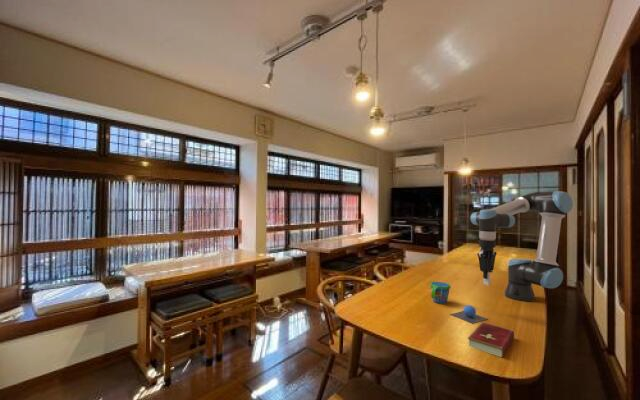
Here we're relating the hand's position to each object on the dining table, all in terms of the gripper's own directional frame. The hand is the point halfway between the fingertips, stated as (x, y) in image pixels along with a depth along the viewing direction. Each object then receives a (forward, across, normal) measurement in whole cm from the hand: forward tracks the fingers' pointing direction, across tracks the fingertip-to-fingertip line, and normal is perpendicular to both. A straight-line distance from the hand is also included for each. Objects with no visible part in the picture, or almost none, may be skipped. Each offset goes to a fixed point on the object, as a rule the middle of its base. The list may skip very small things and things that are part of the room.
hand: (486, 284), depth 148 cm
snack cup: (+15, +9, -21) cm, 27 cm away
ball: (+12, +13, 0) cm, 18 cm away
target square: (+14, +14, 0) cm, 20 cm away
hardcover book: (+15, +29, +21) cm, 39 cm away
